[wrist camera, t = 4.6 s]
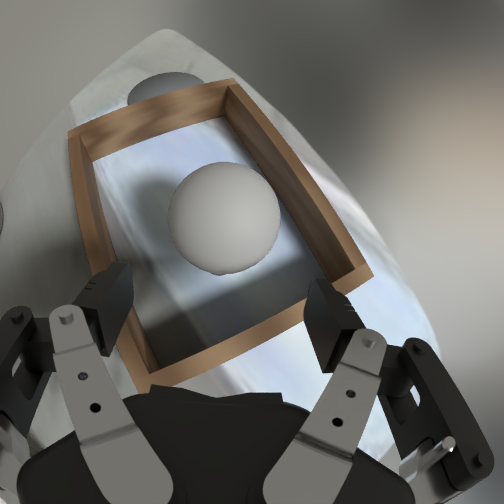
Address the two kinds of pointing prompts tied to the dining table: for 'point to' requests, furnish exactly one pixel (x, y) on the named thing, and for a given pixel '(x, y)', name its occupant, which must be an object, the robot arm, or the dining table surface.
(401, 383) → the robot arm
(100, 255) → the shallow wooden tray
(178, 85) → the mat
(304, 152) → the dining table surface
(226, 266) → the lightbulb
